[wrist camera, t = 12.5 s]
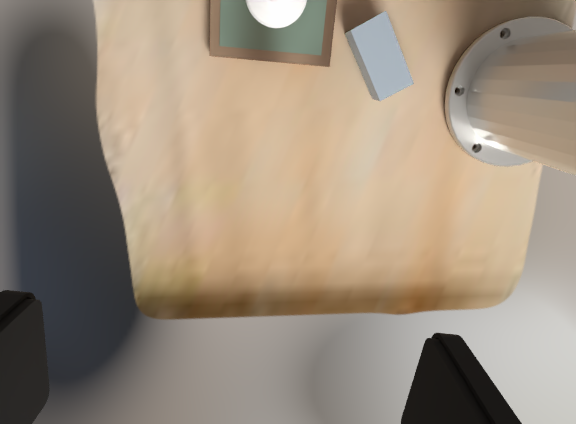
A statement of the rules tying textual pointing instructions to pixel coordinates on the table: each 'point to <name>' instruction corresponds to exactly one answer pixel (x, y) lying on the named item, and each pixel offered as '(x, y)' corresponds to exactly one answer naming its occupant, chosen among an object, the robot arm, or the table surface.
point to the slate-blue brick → (379, 57)
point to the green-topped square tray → (272, 34)
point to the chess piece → (276, 11)
